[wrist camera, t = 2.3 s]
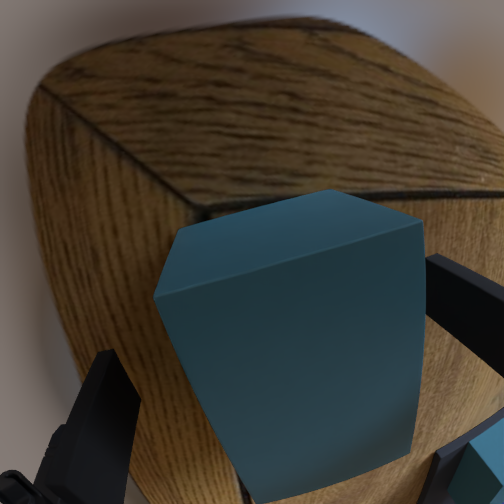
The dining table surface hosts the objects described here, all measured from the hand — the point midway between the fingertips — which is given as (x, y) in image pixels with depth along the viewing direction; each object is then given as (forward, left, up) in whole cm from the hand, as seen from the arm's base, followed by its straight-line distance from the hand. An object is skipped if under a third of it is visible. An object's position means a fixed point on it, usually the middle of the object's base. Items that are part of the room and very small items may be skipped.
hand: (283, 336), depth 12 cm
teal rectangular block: (0, 0, -1) cm, 1 cm away
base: (+29, +16, -2) cm, 33 cm away
